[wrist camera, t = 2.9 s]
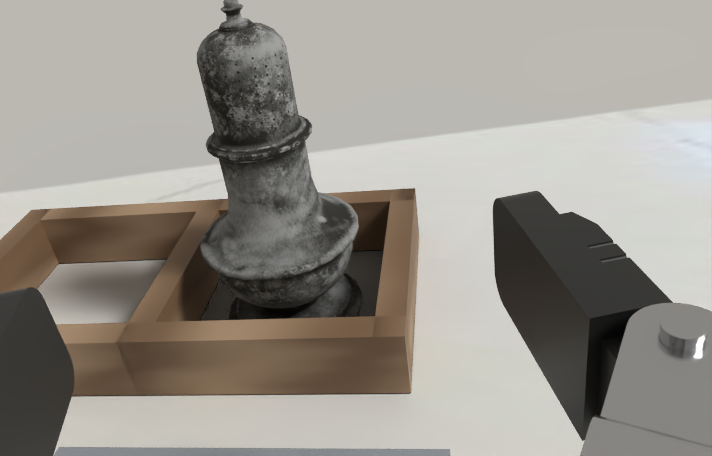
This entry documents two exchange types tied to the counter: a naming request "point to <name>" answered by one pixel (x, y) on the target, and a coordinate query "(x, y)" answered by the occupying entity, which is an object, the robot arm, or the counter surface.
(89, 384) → the spice caddy
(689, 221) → the counter surface
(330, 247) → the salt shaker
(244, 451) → the slate tile
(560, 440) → the counter surface
